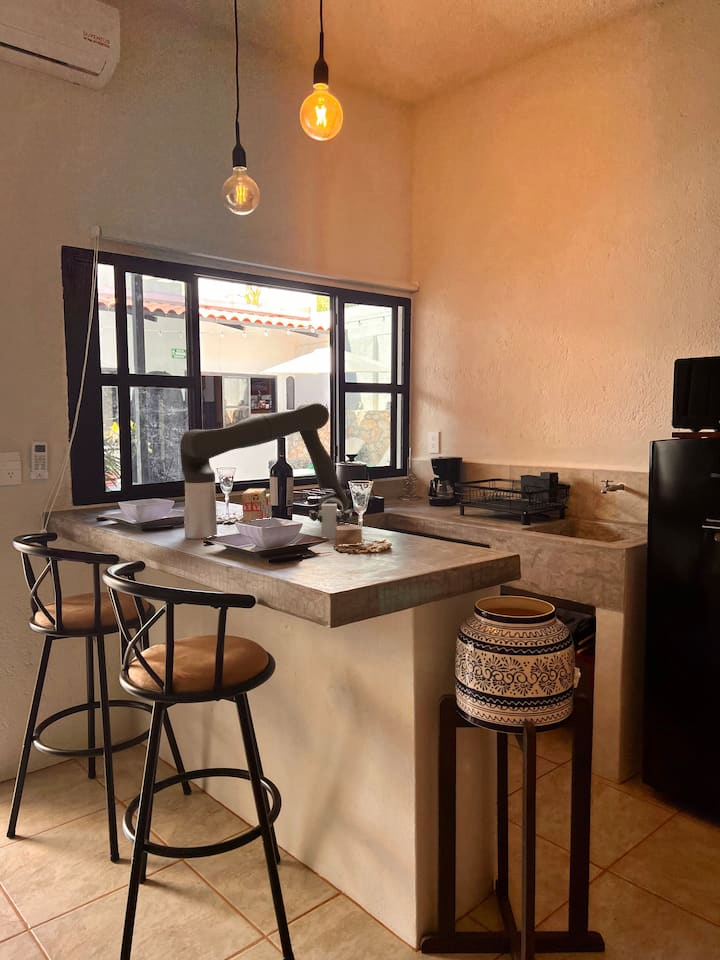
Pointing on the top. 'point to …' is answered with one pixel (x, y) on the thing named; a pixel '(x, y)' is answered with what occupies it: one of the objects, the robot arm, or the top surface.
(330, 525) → the tall grey block
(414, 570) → the top surface
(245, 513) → the tan printed box
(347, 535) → the walnut base block
